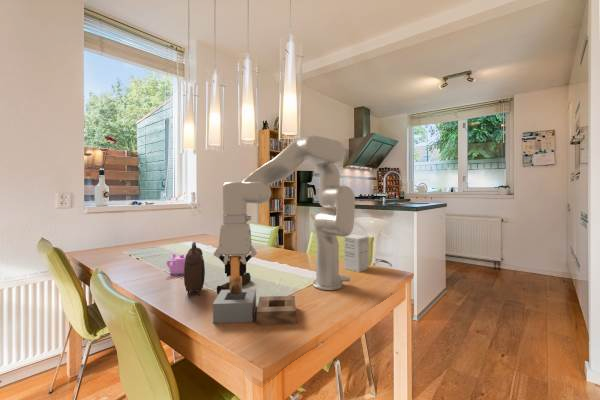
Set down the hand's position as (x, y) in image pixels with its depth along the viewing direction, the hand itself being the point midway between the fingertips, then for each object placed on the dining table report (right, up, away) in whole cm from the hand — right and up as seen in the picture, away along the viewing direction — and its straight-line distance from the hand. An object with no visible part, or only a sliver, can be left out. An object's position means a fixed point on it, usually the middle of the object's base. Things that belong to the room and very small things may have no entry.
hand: (235, 274), depth 92 cm
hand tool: (-6, -13, +25) cm, 29 cm away
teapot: (-37, -12, +47) cm, 61 cm away
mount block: (+14, -13, -1) cm, 19 cm away
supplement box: (+50, -11, +53) cm, 74 cm away
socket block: (0, -13, 0) cm, 13 cm away
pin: (0, -6, 0) cm, 6 cm away
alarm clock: (-21, -13, +20) cm, 32 cm away
